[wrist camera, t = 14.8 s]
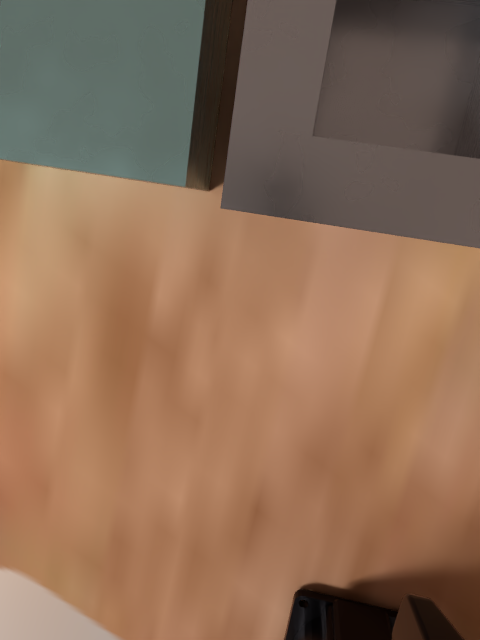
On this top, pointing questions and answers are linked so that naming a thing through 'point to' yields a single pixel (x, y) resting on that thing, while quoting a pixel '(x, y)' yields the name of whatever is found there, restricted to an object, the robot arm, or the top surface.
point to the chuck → (259, 104)
